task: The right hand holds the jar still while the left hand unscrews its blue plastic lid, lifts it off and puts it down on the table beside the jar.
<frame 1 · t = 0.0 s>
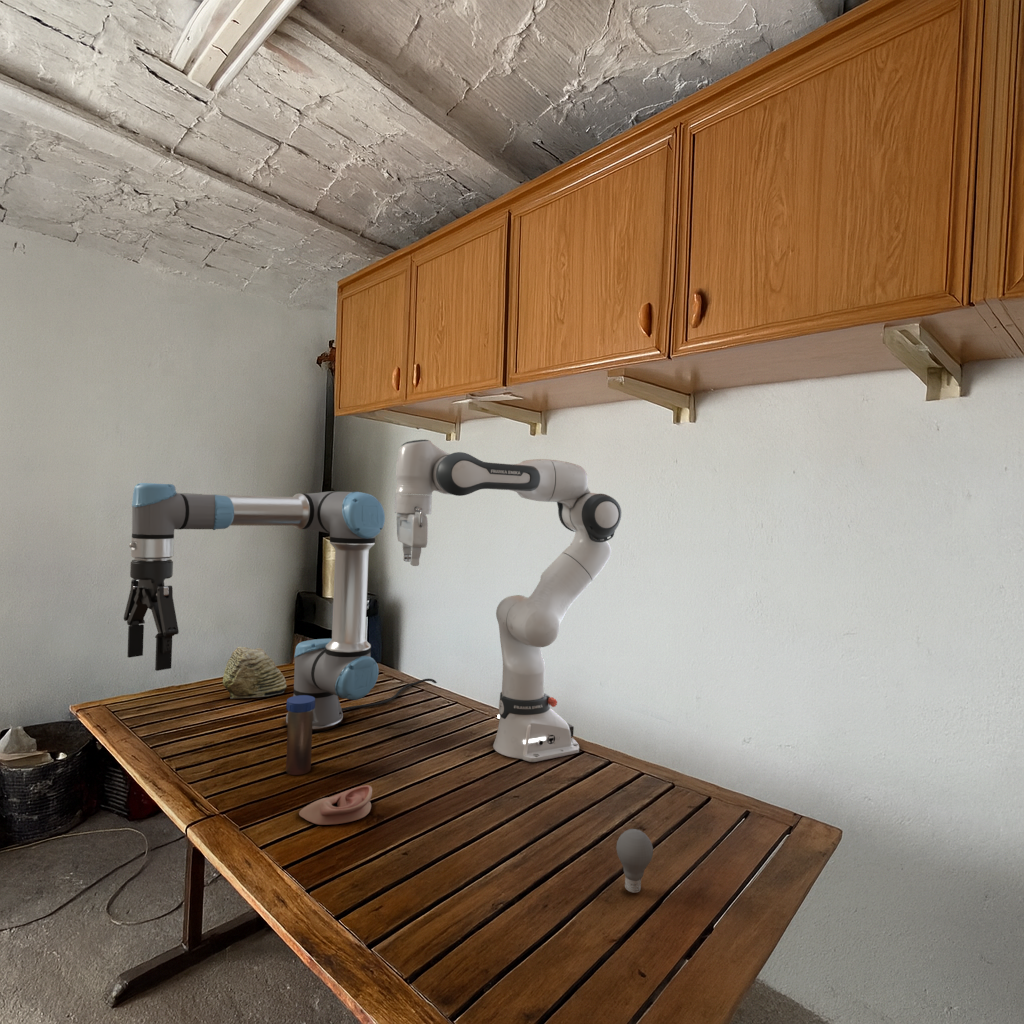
left hand: (148, 662, 129), 28 cm above the table, tool pointing down, fingers open, 13 cm apart
right hand: (410, 563, 154), 48 cm above the table, tool pointing down, fingers open, 8 cm apart
lid: (301, 700, 146), point 16 cm above the table, screwed on, not yet turned
light bulb: (632, 891, 106), on the table
fossil: (254, 694, 198), on the table
jar: (298, 770, 146), on the table
anatomical model: (335, 812, 127), on the table
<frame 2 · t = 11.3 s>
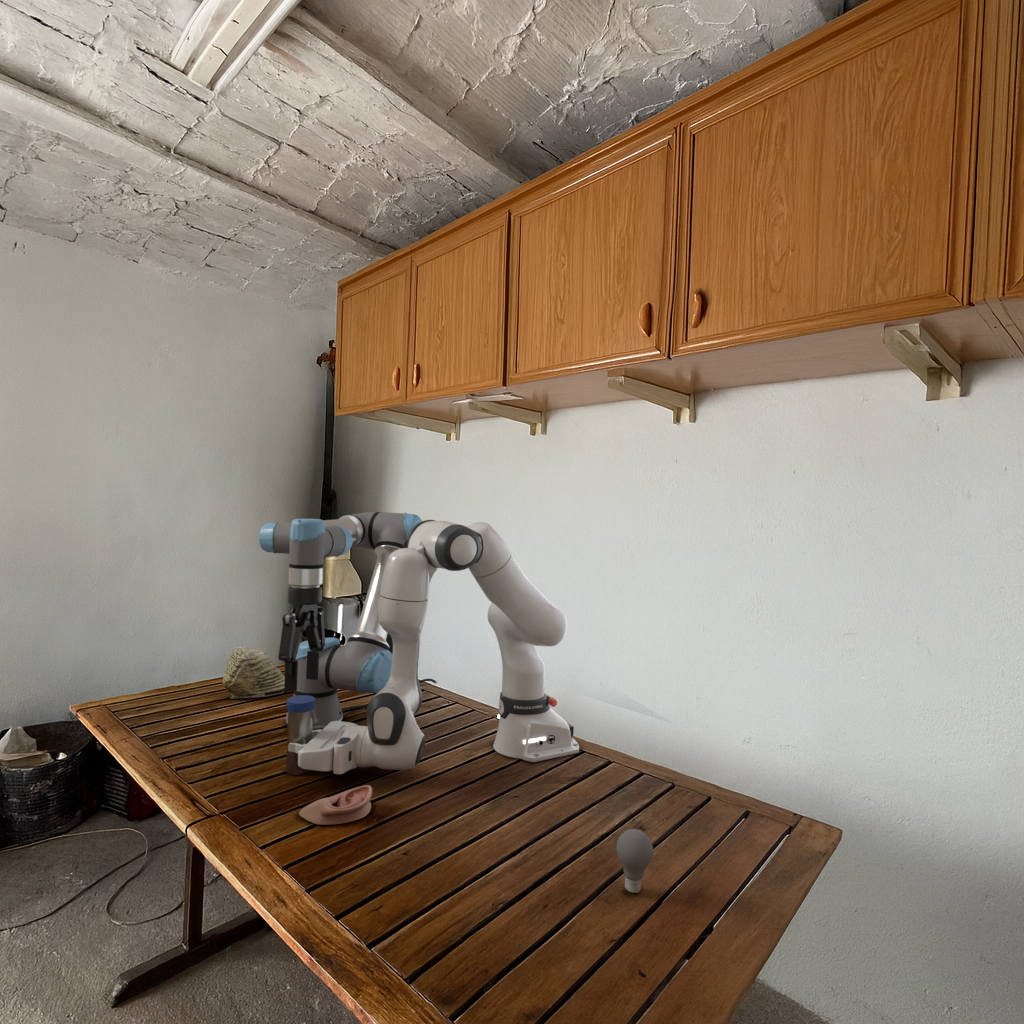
left hand: (301, 684, 146), 20 cm above the table, tool pointing down, fingers open, 8 cm apart
right hand: (295, 740, 146), 7 cm above the table, tool horizontal, fingers closed on jar, 5 cm apart
jar: (298, 770, 146), on the table, touching right hand
everything else where it was.
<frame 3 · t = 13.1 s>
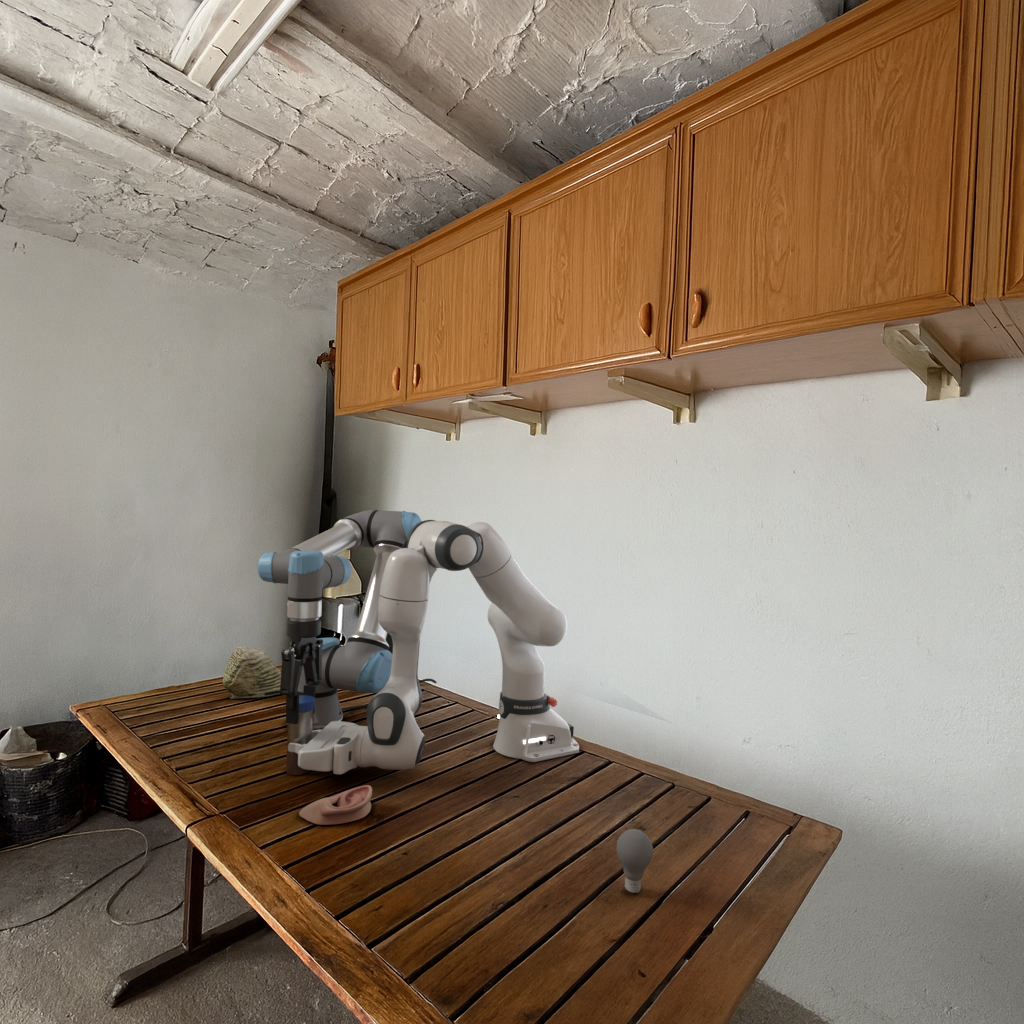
left hand: (300, 717, 146), 12 cm above the table, tool pointing down, fingers closed on lid, 6 cm apart
right hand: (295, 740, 146), 7 cm above the table, tool horizontal, fingers closed on jar, 5 cm apart
lid: (301, 700, 146), point 16 cm above the table, screwed on, not yet turned, touching left hand
jar: (298, 770, 146), on the table, touching right hand
everything else where it was.
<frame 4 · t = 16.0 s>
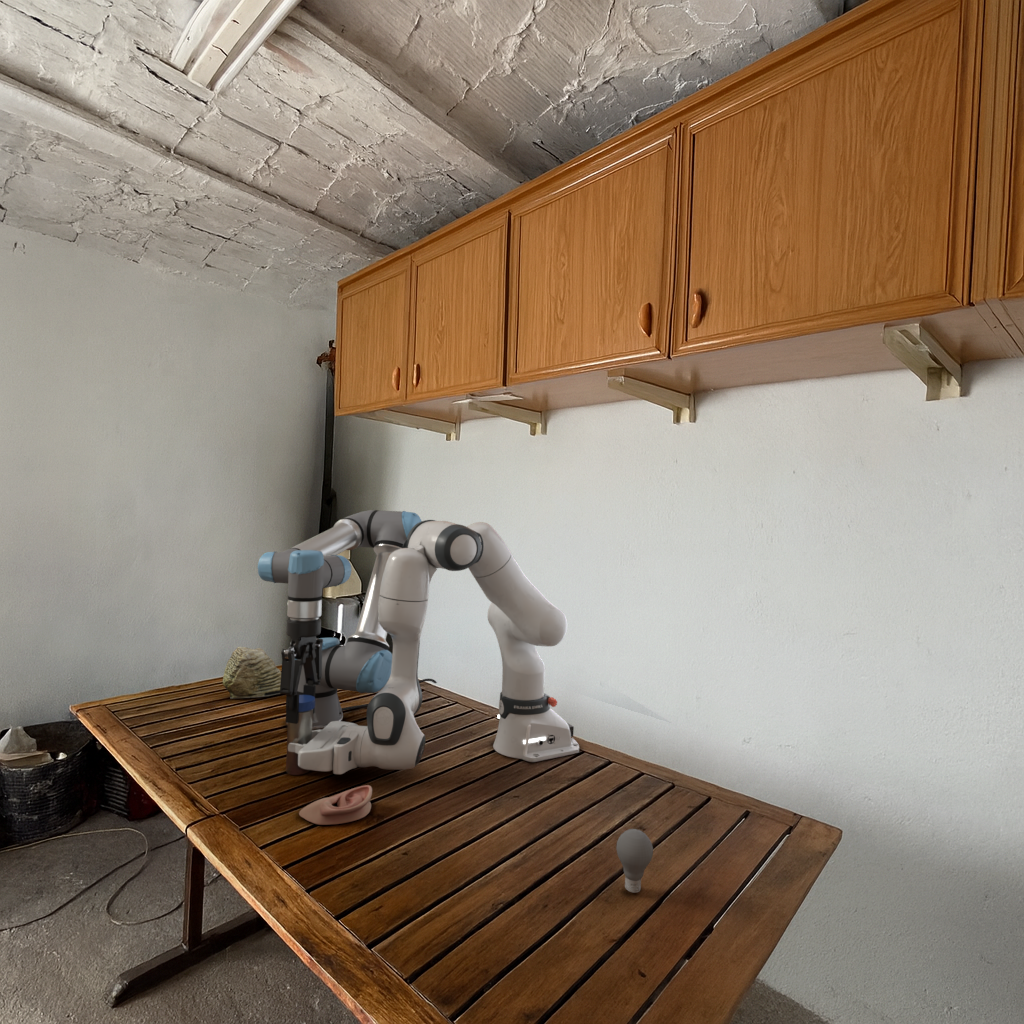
left hand: (300, 717, 146), 12 cm above the table, tool pointing down, fingers closed on lid, 6 cm apart
right hand: (295, 740, 146), 7 cm above the table, tool horizontal, fingers closed on jar, 5 cm apart
lid: (301, 700, 146), point 16 cm above the table, turned 90° so far, risen 0.1 cm, still on its thread, touching left hand
jar: (298, 770, 146), on the table, touching right hand
everything else where it was.
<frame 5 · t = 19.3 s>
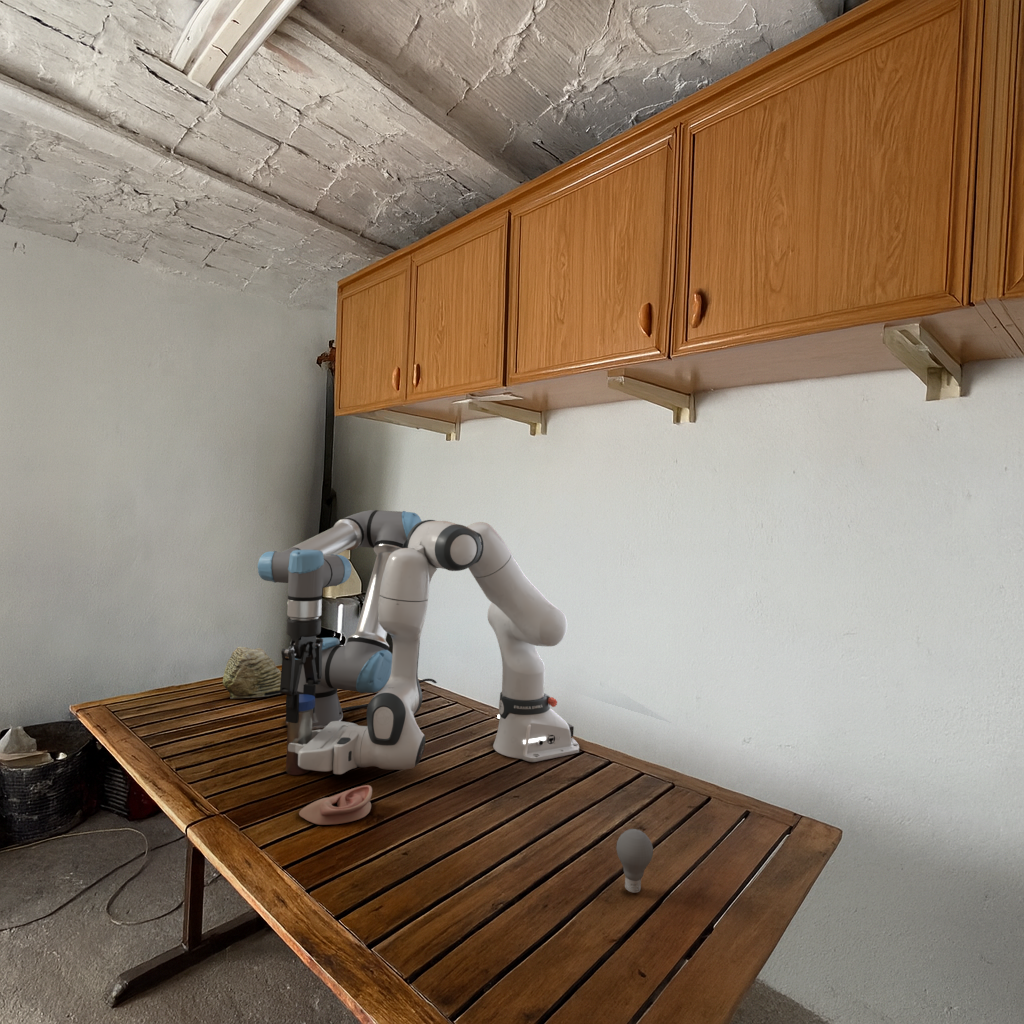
left hand: (300, 716, 146), 12 cm above the table, tool pointing down, fingers closed on lid, 6 cm apart
right hand: (295, 740, 146), 7 cm above the table, tool horizontal, fingers closed on jar, 5 cm apart
lid: (301, 699, 146), point 16 cm above the table, turned 179° so far, risen 0.2 cm, still on its thread, touching left hand
jar: (298, 770, 146), on the table, touching right hand
everything else where it was.
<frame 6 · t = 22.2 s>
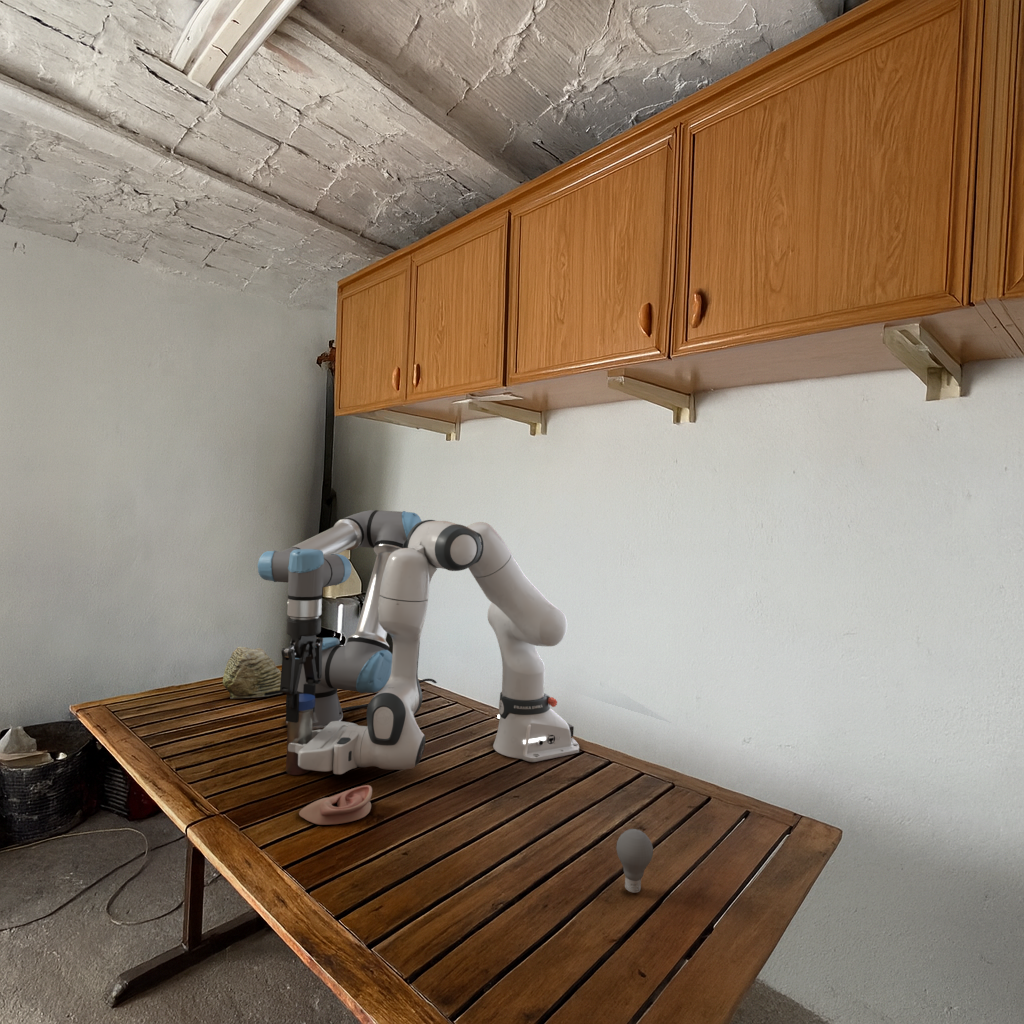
left hand: (300, 716, 146), 12 cm above the table, tool pointing down, fingers closed on lid, 6 cm apart
right hand: (295, 740, 146), 7 cm above the table, tool horizontal, fingers closed on jar, 5 cm apart
lid: (301, 699, 146), point 16 cm above the table, turned 269° so far, risen 0.4 cm, still on its thread, touching left hand
jar: (298, 770, 146), on the table, touching right hand
everything else where it was.
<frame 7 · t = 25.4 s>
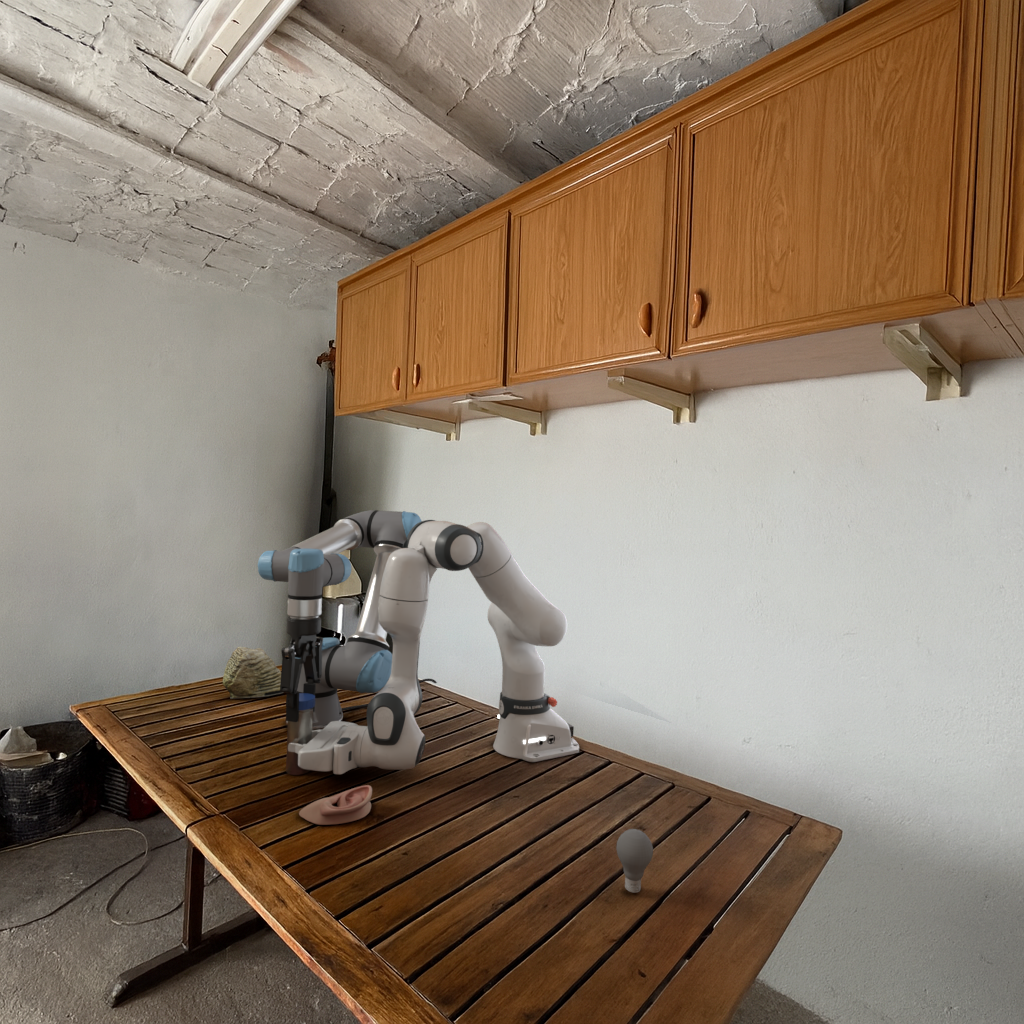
left hand: (300, 715, 146), 13 cm above the table, tool pointing down, fingers closed on lid, 6 cm apart
right hand: (295, 740, 146), 7 cm above the table, tool horizontal, fingers closed on jar, 5 cm apart
lid: (301, 698, 146), point 17 cm above the table, turned 359° so far, risen 0.5 cm, still on its thread, touching left hand
jar: (298, 770, 146), on the table, touching right hand
everything else where it was.
when the left hand's fingers open (0 cm above the table, at t = 31.8 s): lid drops 2 cm, point 2 cm above the table.
when the right hand's fingers open (7 cm above the table, at t = 32.6 s): jar stays where it is, on the table.
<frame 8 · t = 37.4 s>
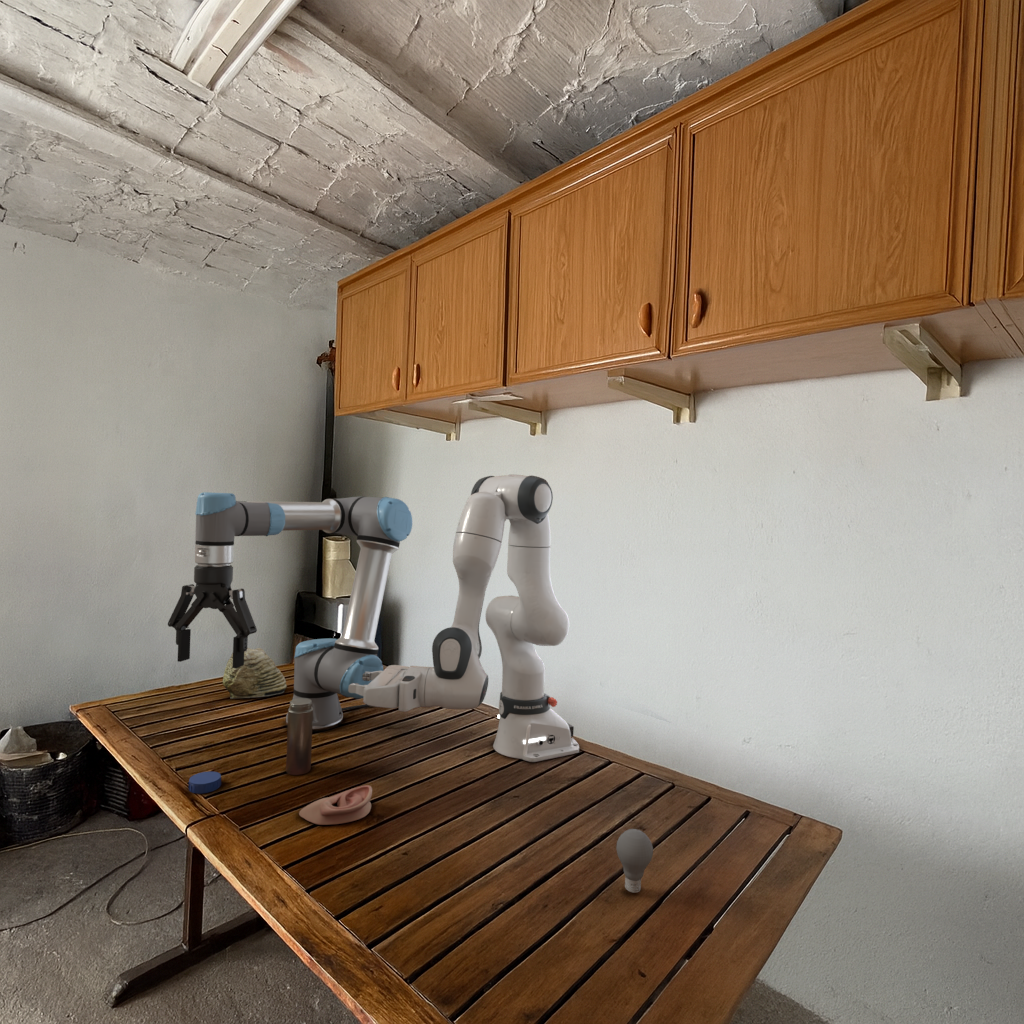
left hand: (210, 663, 136), 27 cm above the table, tool pointing down, fingers open, 13 cm apart
right hand: (356, 681, 145), 21 cm above the table, tool horizontal, fingers open, 8 cm apart
lid: (205, 779, 136), point 2 cm above the table, off its thread
jar: (298, 770, 146), on the table
everything else where it was.
at the end: lid came off its thread; lid point 1.7 cm above the table; the left hand is holding nothing; the right hand is holding nothing; jar tilted 0°; jar moved 0.0 cm from its start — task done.
